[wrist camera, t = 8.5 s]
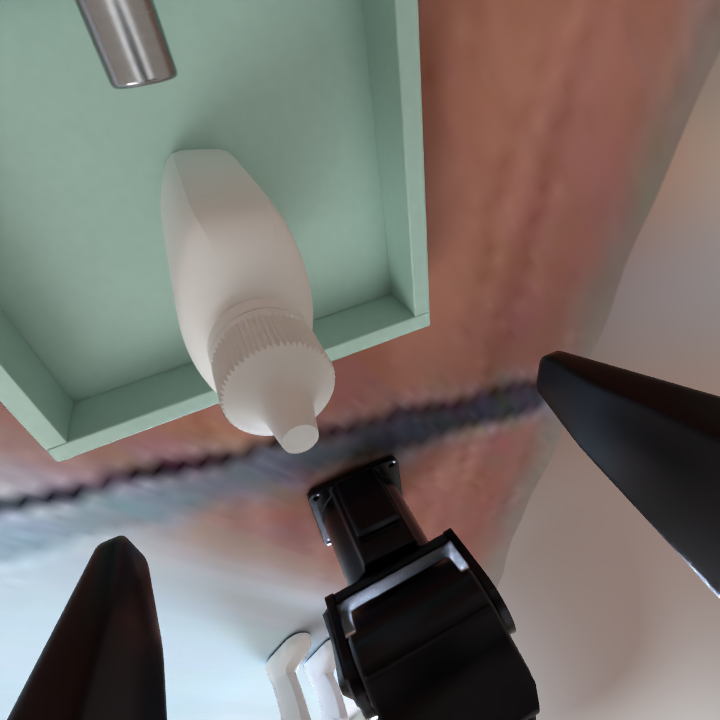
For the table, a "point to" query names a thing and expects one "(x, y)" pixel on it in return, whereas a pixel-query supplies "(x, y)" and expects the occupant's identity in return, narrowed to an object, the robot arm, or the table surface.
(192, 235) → the eye dropper bottle
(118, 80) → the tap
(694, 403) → the robot arm
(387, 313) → the green tray
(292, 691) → the toy character
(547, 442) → the table surface
